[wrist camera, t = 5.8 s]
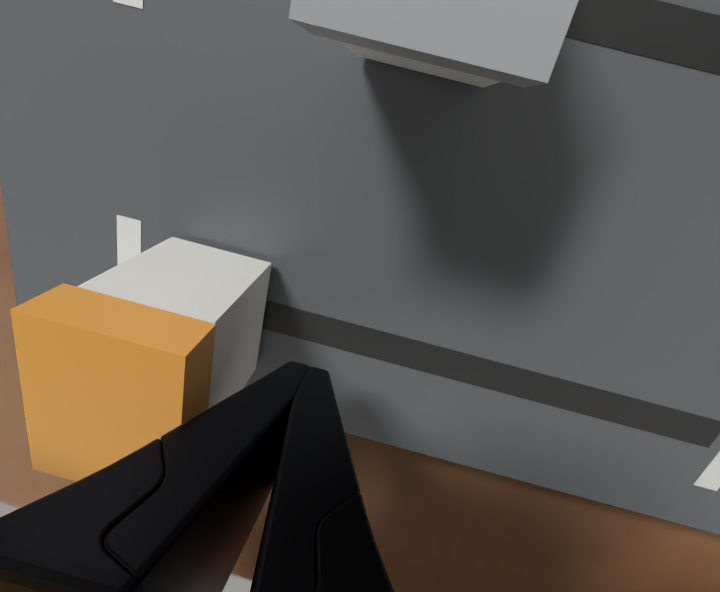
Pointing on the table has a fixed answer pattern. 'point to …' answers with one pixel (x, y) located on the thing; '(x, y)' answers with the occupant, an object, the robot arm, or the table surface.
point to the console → (409, 221)
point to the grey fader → (448, 35)
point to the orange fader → (135, 352)
